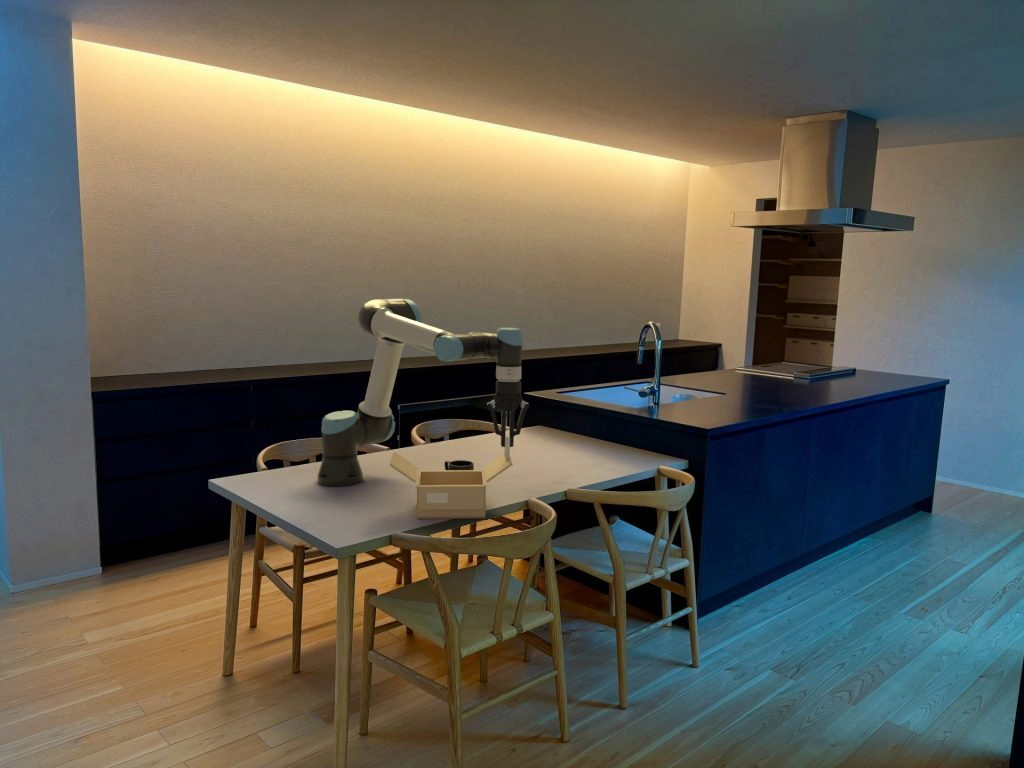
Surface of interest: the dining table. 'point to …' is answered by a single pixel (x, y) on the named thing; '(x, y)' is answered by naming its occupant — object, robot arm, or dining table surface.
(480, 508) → the carton
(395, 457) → the flap left
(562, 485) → the dining table surface
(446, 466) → the mug
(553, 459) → the dining table surface
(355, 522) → the dining table surface
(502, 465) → the flap right
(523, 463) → the dining table surface
